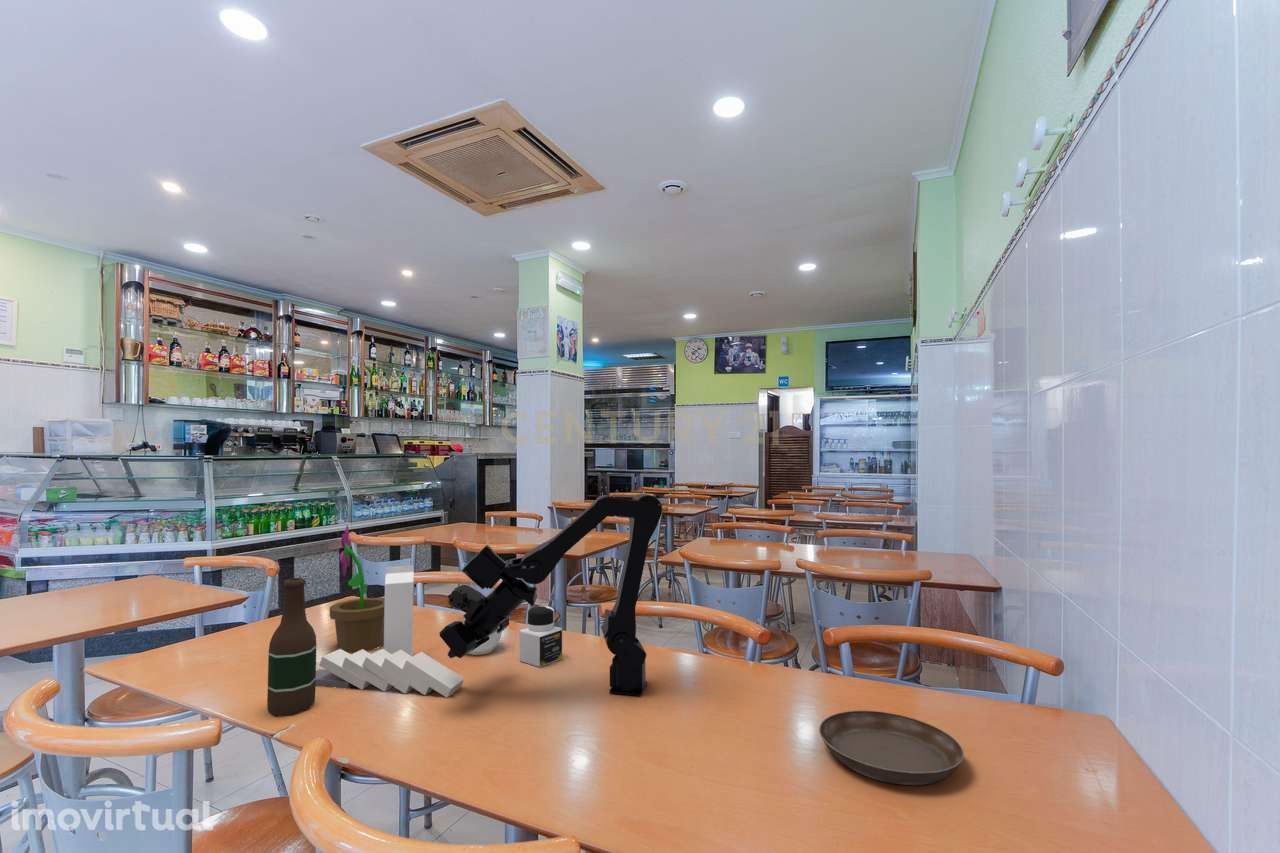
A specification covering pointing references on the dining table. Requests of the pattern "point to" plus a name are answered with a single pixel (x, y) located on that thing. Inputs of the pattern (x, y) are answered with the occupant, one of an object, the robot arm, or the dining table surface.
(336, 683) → the domino
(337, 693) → the dining table surface
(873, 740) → the plant saucer
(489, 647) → the lidded jar
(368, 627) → the flowerpot
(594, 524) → the robot arm
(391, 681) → the domino
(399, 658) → the domino
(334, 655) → the domino
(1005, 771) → the dining table surface
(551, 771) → the dining table surface
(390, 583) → the milk
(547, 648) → the medicine bottle
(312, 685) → the beer bottle
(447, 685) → the domino
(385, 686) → the domino
